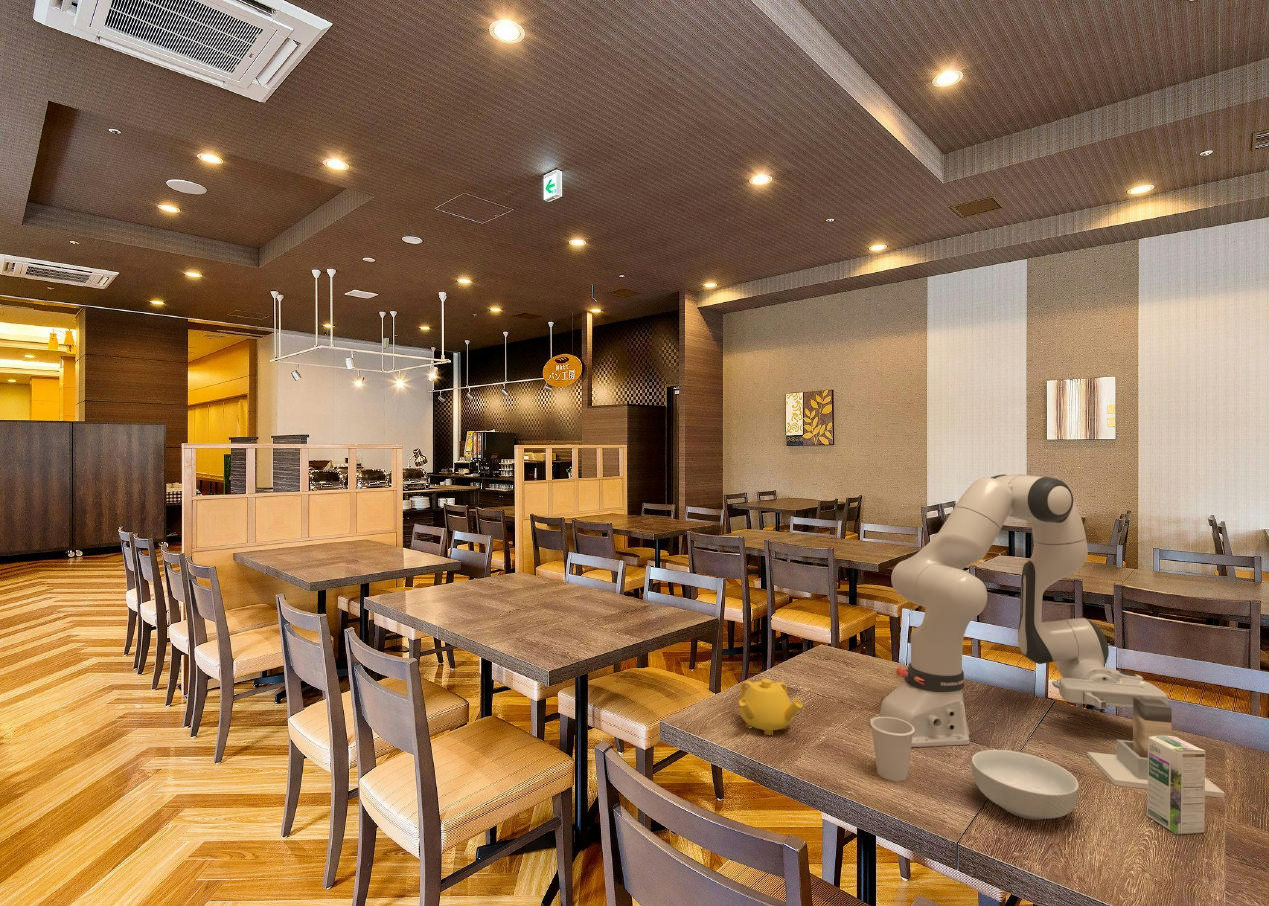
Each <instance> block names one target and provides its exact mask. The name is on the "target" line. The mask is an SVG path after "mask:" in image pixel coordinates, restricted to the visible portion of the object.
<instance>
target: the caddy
mask: <svg viewBox="0 0 1269 906" xmlns="http://www.w3.org/2000/svg"><path fill="white" fill-rule="evenodd" d="M1087 758H1088V759H1089V760H1090V761H1091V762H1092V763H1093V764H1094V765H1095V766H1096V767H1097V768H1098V769H1099V770H1100V772H1101V773H1102V774H1103V775H1105V776H1106V777H1107V779H1109V782H1111V783H1112V784H1113V785H1115V786H1120V787H1129V788H1135V789H1137V788H1138V789H1145V790H1148V758H1143V757H1140V756H1139V755H1138V754H1136V753H1135V752H1134V751H1133V740H1125V739H1116V754H1111V753H1110V754H1109V753H1102V752H1093V751H1087ZM1205 797H1214V798H1219V799H1226V793H1225V792H1224V791H1223V790H1222V789H1221V788H1219V787H1218V786H1217V785H1216V784H1214V783H1213V782H1212V781H1210V780H1209V779H1208V778H1207V777H1205Z"/></svg>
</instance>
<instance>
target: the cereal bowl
mask: <svg viewBox="0 0 1269 906" xmlns="http://www.w3.org/2000/svg"><path fill="white" fill-rule="evenodd" d="M970 764H971V773H972V777H973V780H974V783H975V784H976V786H977V788H978V789H979V791H980V792H981V793H982V794H983V795H984V796H985V797H986V798H988V799H989V800H990V801H991V802H992V803H994V804H995V805H998V806H999V807H1001V809H1003V810H1004V809H1005V811H1006V812H1007V813H1009V812H1010V814H1011V813H1012V814H1011V815H1014V816H1017V817H1019V818H1022V817H1023V819H1028V820H1034V821H1036V820H1044V819H1047V820H1049V819H1056V818H1057V819H1058V818H1061V817H1063V816H1064V817H1065V816H1066V815H1068V814H1070V813H1071V812H1072V811H1073V810H1074V808H1075V807H1076V806H1077V805H1078V800H1079V795H1080V784H1079V781H1078V780H1077V778H1076V777H1075V776H1074V775H1073V774H1072V773H1071V772H1070V771H1068V770H1067V769H1065V768H1064V767H1062V766H1060V765H1058V764H1056V763H1054V762H1052V761H1050V760H1048V759H1046V758H1045V759H1044V758H1042V757H1039V756H1036V755H1033V754H1029V753H1025V752H1020V751H1015V750H1007V749H1005V750H1004V749H987V750H981V751H978V752H976V753H975V754H973V756H972V757H971V763H970Z"/></svg>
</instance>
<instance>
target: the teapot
mask: <svg viewBox="0 0 1269 906" xmlns="http://www.w3.org/2000/svg"><path fill="white" fill-rule="evenodd" d="M746 686H748V688H747V690H746ZM787 693H788V686H787V684H786V683H785V682H783V681H777V682H773V681H772V679H770V678H762V679H760V680H758V681H755V682H752V681H750V680H745V681H743V682H742V683H741V684H740V694H741V697H740V698H739V699H738V705H739V715H740V716H741V718H742V720H743V721H744V722H745V723H746V724H745V725H746V726H748V727H754V728H755V729H758V730H763V734H764V733H765V734H767V735H772V734H773V733H774V731H778V730H787V729H788V726H789V724H791V723H792V721H793V720H794V717H795V715H796V714H797V713H798V712H799V711H800V710H801V709H802V708H803V706H804V705H803V703H802V702H801V701H800V700H799V699H795V700H794V701H793V702H792V701H791V699H790V697H789V695H788V694H787ZM746 726H745V727H746ZM748 727H747V728H748ZM786 728H787V729H786ZM765 734H764V735H765ZM767 735H766V736H767ZM772 736H773V735H772Z"/></svg>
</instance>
